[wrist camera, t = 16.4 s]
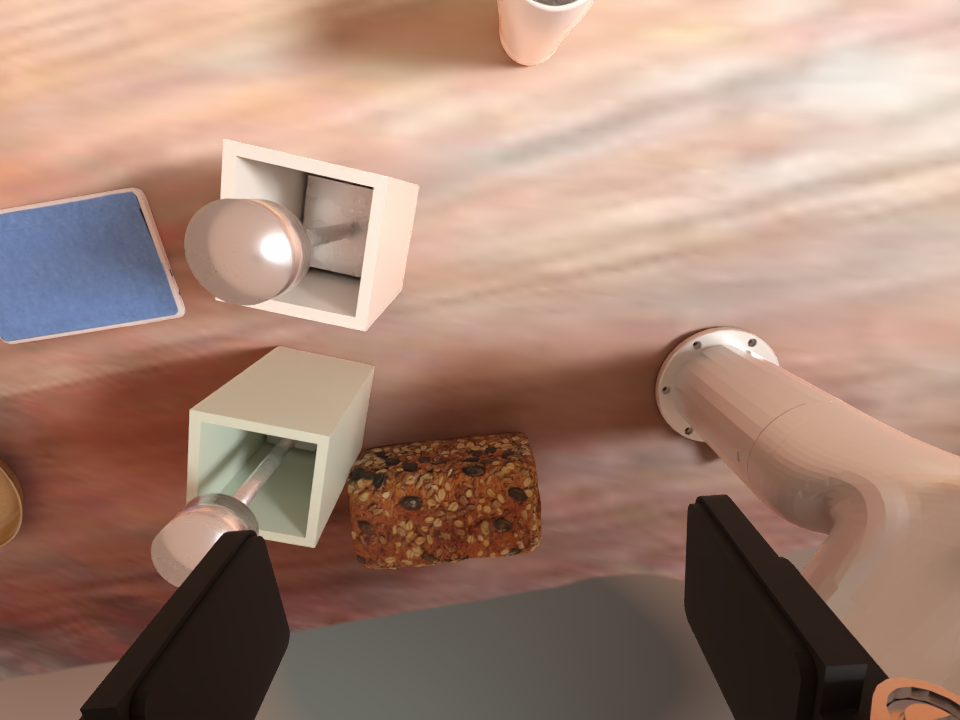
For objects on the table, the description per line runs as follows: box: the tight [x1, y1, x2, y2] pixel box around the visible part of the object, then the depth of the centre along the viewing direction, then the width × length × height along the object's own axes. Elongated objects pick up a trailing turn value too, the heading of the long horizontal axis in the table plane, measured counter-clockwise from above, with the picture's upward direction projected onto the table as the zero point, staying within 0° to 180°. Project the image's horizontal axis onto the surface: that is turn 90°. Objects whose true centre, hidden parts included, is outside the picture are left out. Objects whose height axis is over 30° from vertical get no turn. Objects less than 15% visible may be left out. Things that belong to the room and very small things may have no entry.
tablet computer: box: [0, 187, 185, 344], centre depth 47 cm, size 19×13×1 cm, turn 99°
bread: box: [347, 432, 542, 569], centre depth 50 cm, size 19×11×10 cm, turn 96°
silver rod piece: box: [151, 435, 317, 588], centre depth 38 cm, size 8×8×21 cm
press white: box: [215, 139, 419, 331], centre depth 38 cm, size 10×10×16 cm
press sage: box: [186, 346, 375, 548], centre depth 44 cm, size 10×10×16 cm
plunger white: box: [184, 175, 373, 306], centre depth 33 cm, size 8×8×21 cm
